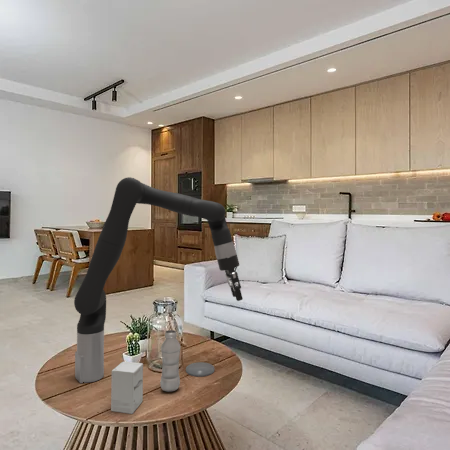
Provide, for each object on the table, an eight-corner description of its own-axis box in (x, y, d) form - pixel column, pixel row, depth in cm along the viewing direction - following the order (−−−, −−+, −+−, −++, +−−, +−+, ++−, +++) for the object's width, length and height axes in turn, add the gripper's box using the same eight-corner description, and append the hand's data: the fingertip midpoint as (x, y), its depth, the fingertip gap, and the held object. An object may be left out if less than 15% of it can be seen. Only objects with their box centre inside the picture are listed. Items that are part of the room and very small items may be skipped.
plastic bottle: (158, 387, 123) (158, 330, 123) (177, 383, 126) (177, 327, 125) (162, 395, 117) (163, 335, 117) (182, 392, 120) (183, 333, 120)
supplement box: (133, 414, 106) (133, 372, 106) (110, 411, 108) (110, 370, 107) (143, 401, 114) (143, 362, 113) (122, 399, 115) (122, 360, 115)
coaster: (196, 379, 129) (196, 377, 129) (180, 369, 138) (180, 367, 138) (220, 371, 137) (220, 369, 137) (203, 361, 145) (203, 360, 145)
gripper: (214, 257, 138) (225, 297, 138) (219, 259, 123) (230, 304, 123) (233, 252, 139) (243, 292, 139) (239, 253, 125) (251, 298, 125)
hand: (237, 298), depth 131 cm, fingers open, 8 cm apart
